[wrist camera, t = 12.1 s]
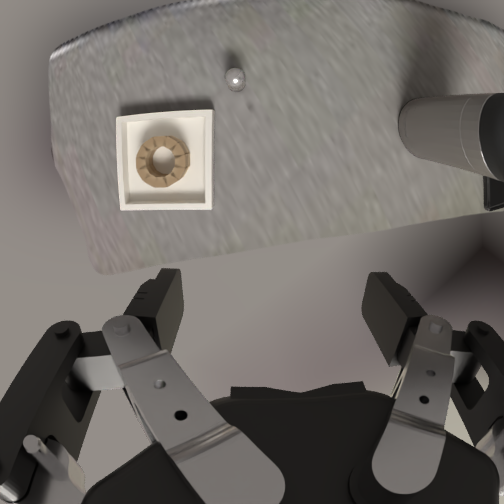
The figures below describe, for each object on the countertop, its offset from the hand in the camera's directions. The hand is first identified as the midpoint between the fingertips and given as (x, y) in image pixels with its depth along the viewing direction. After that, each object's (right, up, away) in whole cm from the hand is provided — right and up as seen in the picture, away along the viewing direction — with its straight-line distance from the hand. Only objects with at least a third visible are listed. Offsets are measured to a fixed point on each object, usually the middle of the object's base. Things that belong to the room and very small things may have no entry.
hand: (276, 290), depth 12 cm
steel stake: (-3, +23, +21) cm, 31 cm away
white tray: (-12, +14, +25) cm, 31 cm away
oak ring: (-12, +14, +24) cm, 30 cm away
